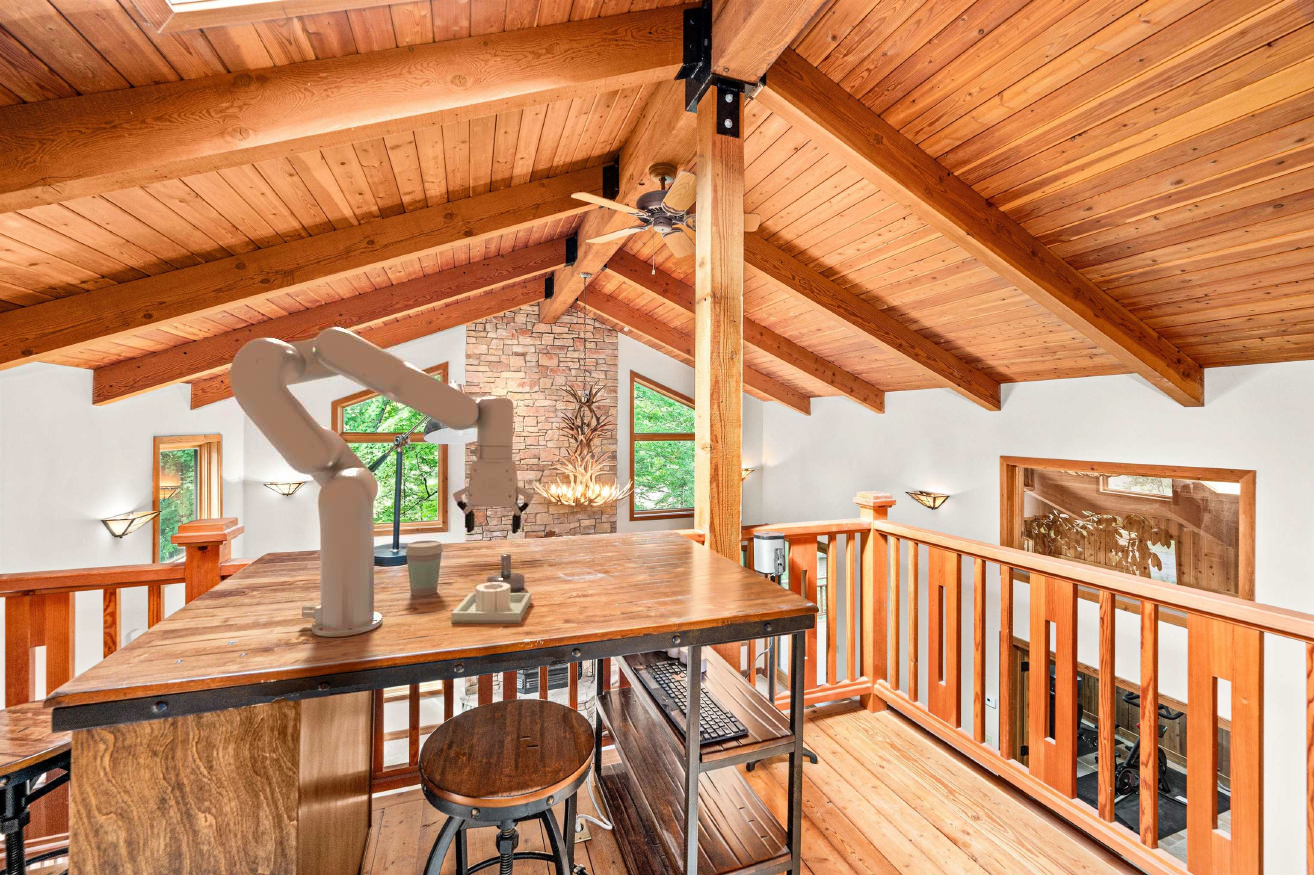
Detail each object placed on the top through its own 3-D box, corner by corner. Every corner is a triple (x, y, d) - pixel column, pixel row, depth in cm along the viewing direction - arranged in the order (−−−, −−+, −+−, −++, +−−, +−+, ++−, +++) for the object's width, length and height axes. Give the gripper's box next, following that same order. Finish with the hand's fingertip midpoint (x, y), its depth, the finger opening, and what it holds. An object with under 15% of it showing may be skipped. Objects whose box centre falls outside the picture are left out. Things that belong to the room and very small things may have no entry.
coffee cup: (448, 588, 144) (449, 540, 143) (432, 598, 135) (432, 548, 135) (416, 586, 144) (416, 539, 144) (397, 597, 136) (397, 546, 136)
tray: (451, 622, 119) (451, 612, 119) (470, 601, 133) (470, 592, 133) (519, 623, 120) (519, 613, 120) (531, 601, 134) (531, 592, 134)
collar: (472, 614, 123) (472, 591, 123) (481, 604, 130) (481, 582, 130) (505, 614, 123) (505, 591, 123) (512, 604, 130) (512, 582, 130)
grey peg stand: (482, 594, 139) (483, 559, 139) (491, 584, 148) (492, 551, 148) (520, 594, 139) (520, 559, 139) (527, 584, 148) (527, 551, 148)
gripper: (449, 453, 122) (447, 534, 122) (531, 456, 122) (529, 536, 123) (459, 452, 129) (458, 528, 129) (537, 454, 130) (535, 529, 130)
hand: (492, 531), depth 126 cm, fingers open, 9 cm apart
